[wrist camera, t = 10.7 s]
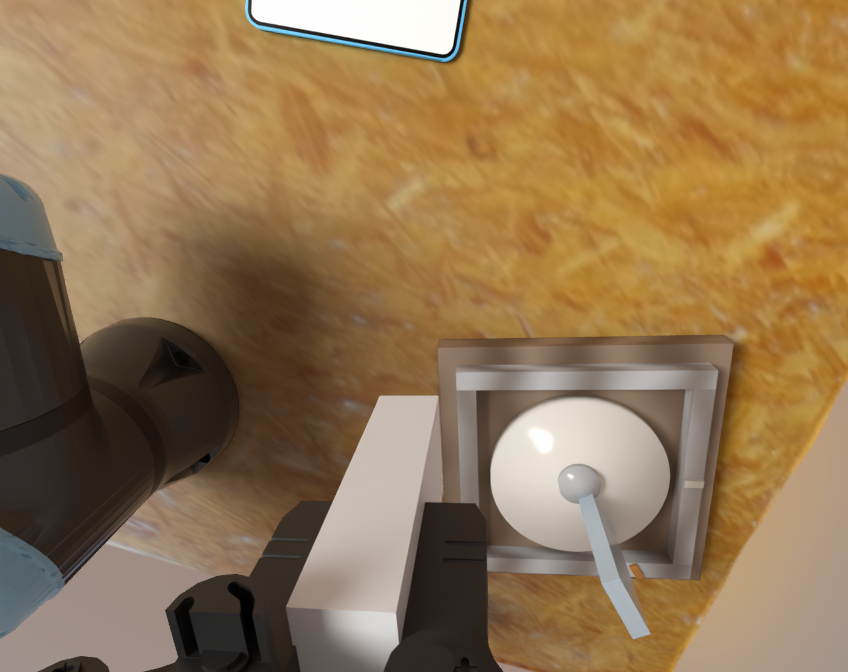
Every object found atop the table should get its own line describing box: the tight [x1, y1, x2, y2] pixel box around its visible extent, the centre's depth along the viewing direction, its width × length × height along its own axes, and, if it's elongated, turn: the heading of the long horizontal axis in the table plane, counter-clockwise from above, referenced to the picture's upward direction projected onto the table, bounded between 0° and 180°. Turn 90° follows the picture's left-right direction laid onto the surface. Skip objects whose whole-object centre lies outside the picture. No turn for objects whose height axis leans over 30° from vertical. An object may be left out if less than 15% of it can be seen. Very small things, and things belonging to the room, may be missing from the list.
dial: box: [490, 394, 670, 639], centre depth 37 cm, size 14×14×11 cm
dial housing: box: [437, 335, 734, 580], centre depth 43 cm, size 22×22×4 cm
